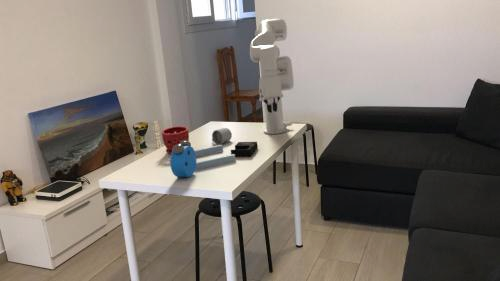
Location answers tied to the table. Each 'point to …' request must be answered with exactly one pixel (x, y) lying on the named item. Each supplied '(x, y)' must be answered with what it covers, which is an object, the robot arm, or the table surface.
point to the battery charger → (244, 149)
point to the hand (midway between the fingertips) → (272, 111)
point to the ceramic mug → (221, 135)
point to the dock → (215, 160)
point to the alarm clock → (183, 159)
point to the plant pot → (174, 137)
